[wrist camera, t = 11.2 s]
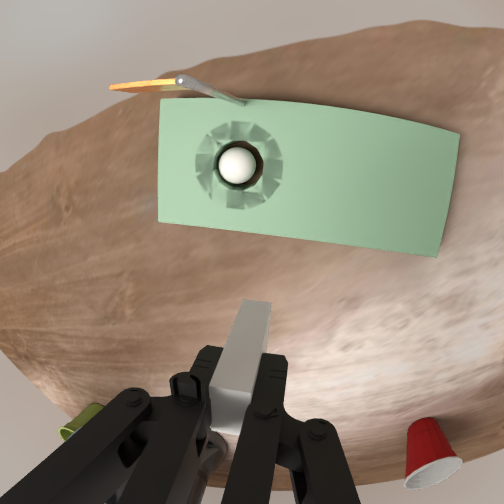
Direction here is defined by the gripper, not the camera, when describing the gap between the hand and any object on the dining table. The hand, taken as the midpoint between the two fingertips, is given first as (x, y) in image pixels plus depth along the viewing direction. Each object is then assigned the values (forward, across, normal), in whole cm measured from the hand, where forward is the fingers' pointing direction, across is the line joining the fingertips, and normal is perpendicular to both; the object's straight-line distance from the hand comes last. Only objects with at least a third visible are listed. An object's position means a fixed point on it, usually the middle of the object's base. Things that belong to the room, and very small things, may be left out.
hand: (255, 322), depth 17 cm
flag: (+18, -7, +13) cm, 23 cm away
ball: (+20, -5, +6) cm, 21 cm away
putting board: (+22, +2, +6) cm, 23 cm away
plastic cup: (+22, +30, -36) cm, 52 cm away
